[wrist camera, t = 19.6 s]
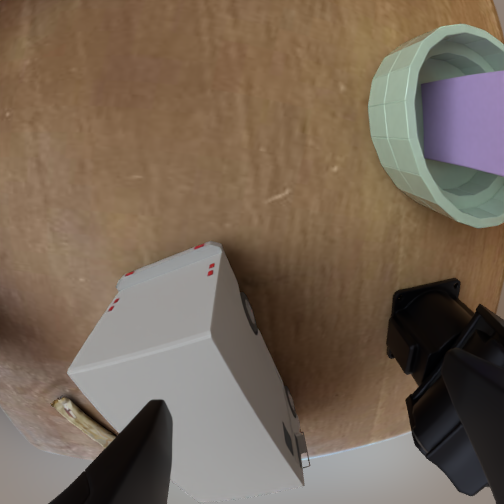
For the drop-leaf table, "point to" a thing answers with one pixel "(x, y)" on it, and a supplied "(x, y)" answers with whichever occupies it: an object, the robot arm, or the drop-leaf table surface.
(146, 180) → the drop-leaf table surface
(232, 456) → the toy vehicle
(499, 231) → the drop-leaf table surface
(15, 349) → the drop-leaf table surface
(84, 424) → the snack bar
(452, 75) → the bowl
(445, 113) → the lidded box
